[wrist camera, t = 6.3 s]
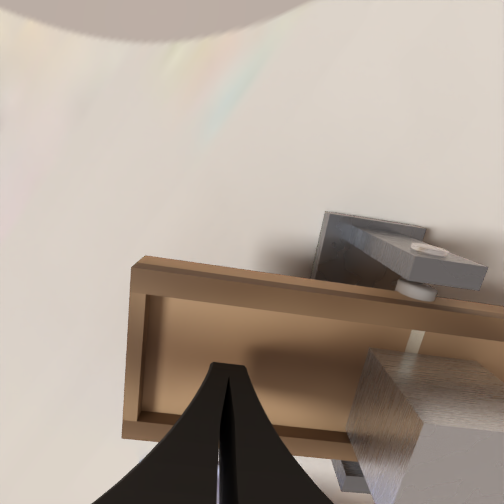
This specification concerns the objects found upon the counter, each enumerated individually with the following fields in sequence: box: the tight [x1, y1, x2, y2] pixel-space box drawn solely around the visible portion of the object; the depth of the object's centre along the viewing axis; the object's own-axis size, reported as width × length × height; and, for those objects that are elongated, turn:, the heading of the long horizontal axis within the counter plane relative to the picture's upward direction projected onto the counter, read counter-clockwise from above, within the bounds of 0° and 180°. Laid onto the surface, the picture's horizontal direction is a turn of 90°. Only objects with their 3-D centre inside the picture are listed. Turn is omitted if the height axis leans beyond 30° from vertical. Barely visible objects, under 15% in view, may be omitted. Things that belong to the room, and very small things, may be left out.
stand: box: [310, 211, 488, 494], centre depth 16 cm, size 13×6×8 cm, turn 171°
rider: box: [345, 347, 504, 504], centre depth 12 cm, size 4×5×4 cm
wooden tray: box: [122, 256, 504, 462], centre depth 14 cm, size 9×24×2 cm, turn 81°
